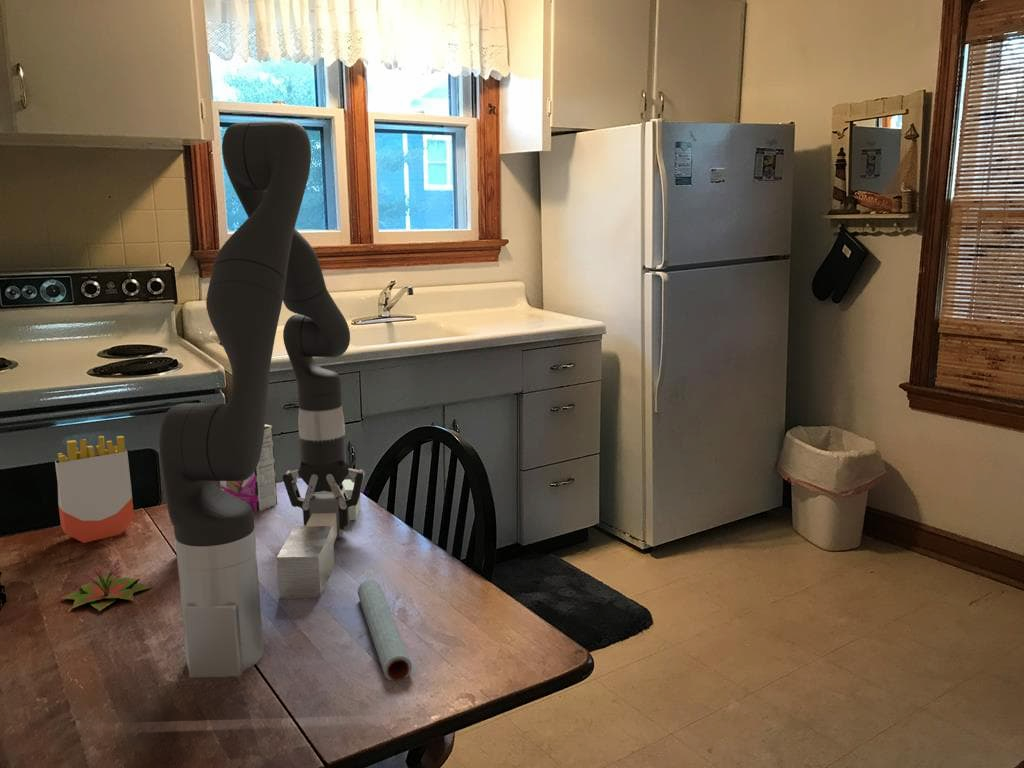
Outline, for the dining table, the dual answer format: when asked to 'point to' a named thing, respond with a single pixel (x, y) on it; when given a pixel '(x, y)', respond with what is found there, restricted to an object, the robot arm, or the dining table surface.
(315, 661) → the dining table surface
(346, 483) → the socket block
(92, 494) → the french fries container
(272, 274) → the robot arm
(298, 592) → the cream rectangular block
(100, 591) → the lily flower
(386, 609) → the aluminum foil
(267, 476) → the candy bar box
